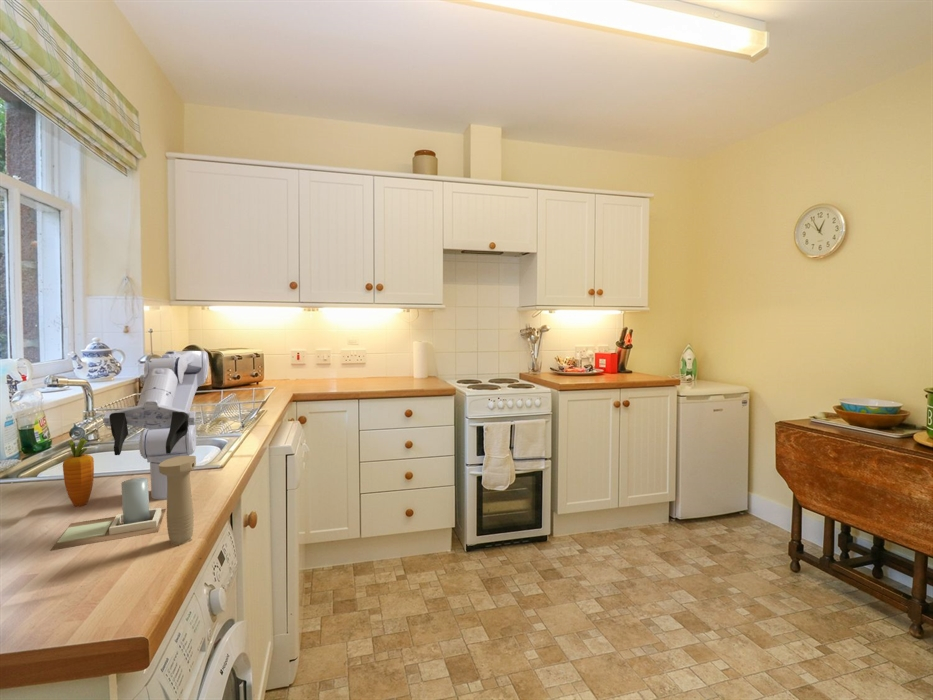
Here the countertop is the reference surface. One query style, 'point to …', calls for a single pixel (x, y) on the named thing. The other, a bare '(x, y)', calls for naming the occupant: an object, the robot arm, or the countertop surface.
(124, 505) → the grey-blue cylinder
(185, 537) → the handle
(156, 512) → the cream square frame
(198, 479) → the countertop surface
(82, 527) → the pad
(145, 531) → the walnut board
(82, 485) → the carrot
